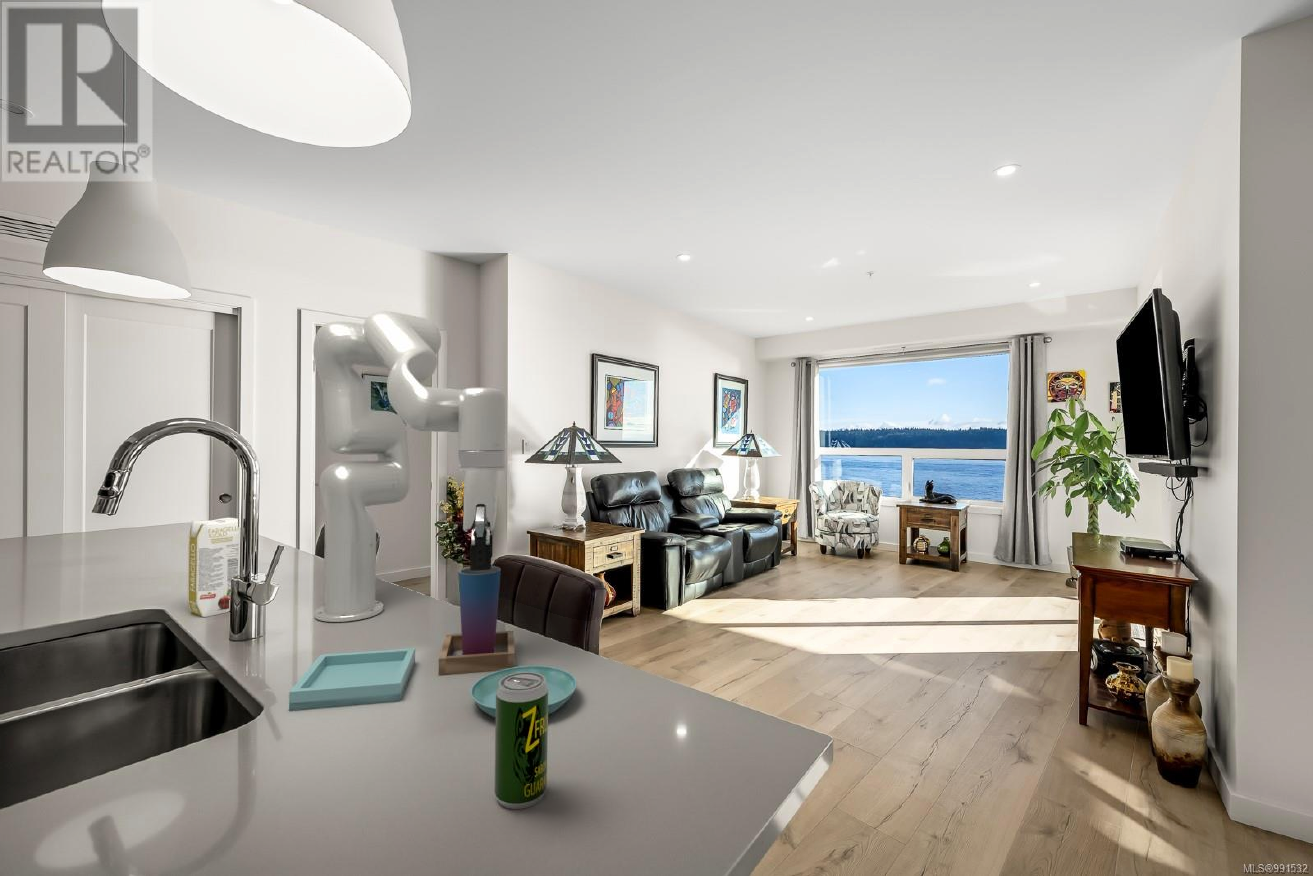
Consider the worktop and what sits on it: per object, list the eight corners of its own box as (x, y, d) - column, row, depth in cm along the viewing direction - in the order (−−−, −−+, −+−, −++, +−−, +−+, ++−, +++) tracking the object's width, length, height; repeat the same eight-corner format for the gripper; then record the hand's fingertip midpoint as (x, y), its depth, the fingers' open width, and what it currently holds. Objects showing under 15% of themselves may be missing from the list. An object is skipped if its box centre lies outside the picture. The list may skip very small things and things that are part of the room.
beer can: (483, 803, 61) (485, 687, 61) (514, 775, 66) (516, 668, 66) (528, 816, 59) (529, 696, 59) (556, 787, 64) (558, 676, 64)
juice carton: (248, 609, 125) (249, 519, 125) (200, 619, 117) (201, 524, 117) (230, 603, 129) (231, 516, 129) (183, 613, 121) (184, 520, 121)
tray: (320, 670, 94) (320, 654, 94) (415, 663, 97) (415, 648, 97) (289, 710, 80) (289, 692, 80) (400, 700, 84) (400, 683, 84)
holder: (445, 649, 104) (446, 634, 104) (513, 644, 107) (513, 630, 107) (438, 675, 93) (438, 659, 93) (514, 669, 95) (514, 653, 95)
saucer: (521, 674, 94) (521, 658, 94) (597, 696, 87) (597, 678, 87) (446, 711, 81) (446, 692, 81) (527, 740, 74) (528, 719, 74)
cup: (492, 667, 96) (494, 575, 96) (451, 666, 96) (452, 574, 96) (504, 651, 103) (505, 565, 103) (465, 651, 103) (466, 564, 103)
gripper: (462, 460, 107) (462, 555, 107) (454, 463, 90) (453, 576, 90) (505, 460, 109) (505, 553, 109) (505, 463, 92) (504, 573, 92)
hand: (481, 563), depth 99 cm, fingers open, 9 cm apart
